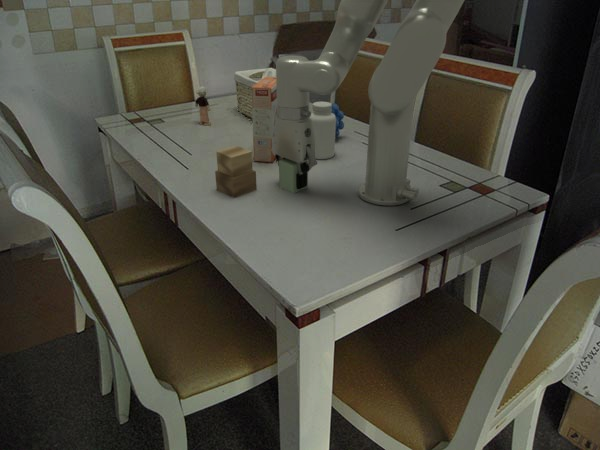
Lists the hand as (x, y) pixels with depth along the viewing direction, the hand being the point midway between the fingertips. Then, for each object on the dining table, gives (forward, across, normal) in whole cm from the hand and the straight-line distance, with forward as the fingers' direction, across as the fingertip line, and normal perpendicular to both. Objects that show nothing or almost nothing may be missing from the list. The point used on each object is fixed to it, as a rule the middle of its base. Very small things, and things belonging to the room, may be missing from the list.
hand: (293, 183), depth 126 cm
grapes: (+1, +18, -34) cm, 38 cm away
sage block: (+1, 0, 0) cm, 1 cm away
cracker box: (+1, +22, -12) cm, 25 cm away
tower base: (+1, +9, +11) cm, 14 cm away
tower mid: (-4, +9, +11) cm, 15 cm away
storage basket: (+1, +53, -39) cm, 66 cm away
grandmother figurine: (+1, +61, -17) cm, 63 cm away
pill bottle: (+1, +11, -22) cm, 25 cm away
